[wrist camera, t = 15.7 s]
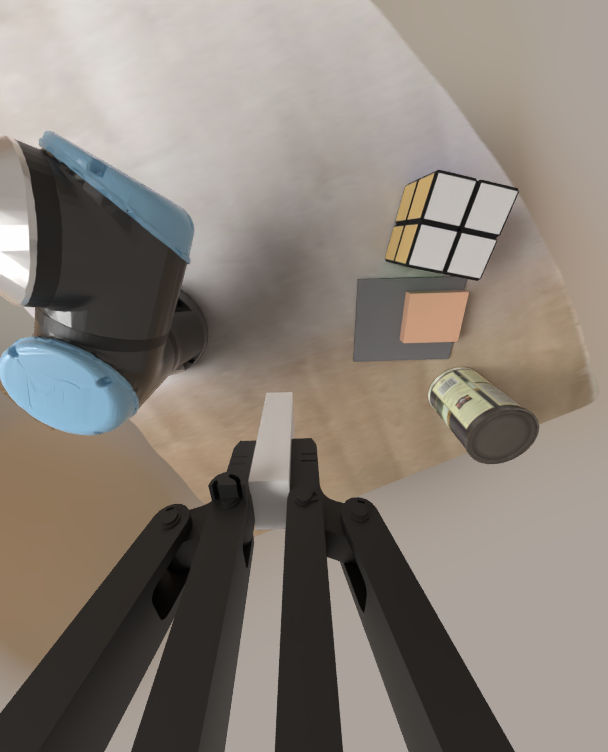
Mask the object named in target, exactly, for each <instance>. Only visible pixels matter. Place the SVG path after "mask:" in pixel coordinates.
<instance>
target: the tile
mask: <svg viewBox="0 0 608 752" xmlns="http://www.w3.org/2000/svg"><path fill="white" fill-rule="evenodd" d="M468 295H469V292H467V291H464V290H439V291H406V295H405V302H404V310H403V317H402V325H401V332H400V340H401V341H402V342H403V343H430V342H458V338H459V334H460V329H461V325H462V321H463V316H464V312H465V308H466V303H467V299H468Z"/></svg>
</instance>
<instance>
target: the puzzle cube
mask: <svg viewBox="0 0 608 752" xmlns="http://www.w3.org/2000/svg"><path fill="white" fill-rule="evenodd" d="M518 193H519V191H518V189H517V188H514V187H510V186H506V185H501V184H497V183H493V182H489V181H484V180H479V181H477V180H476V178H472V177H467V176H463V175H459V174H455V173H450V172H446V171H442V170H437V171H435V172H433V173H431V174H428V175H426V176H424V177H422V178H420V179H418V180H416V181H414V182H412V183H410V184H408V185H406V186H405V189H404V193H403V196H402V200H401V203H400V207H399V210H398V214H397V217H396V221H395V222H396V224H397V225H396V226H394V228H393V232H392V235H391V239H390V242H389V246H388V249H387V253H386V256H385V260H386V261H387V262H391V263H395V264H399V265H402V266H406V267H410V268H415V269H420V270H425V271H430V272H435V273H441V274H445V275H450V276H455V277H461V278H466V279H471V280H476V281H478V280H479V279H481V277H482V275H483V272H484V270H485V268H486V266H487V263H488V261H489V259H490V256H491V254H492V252H493V250H494V247H495V245H496V243H497V239H496V237H498V236H499V235H500V234H501V232H502V229H503V227H504V225H505V223H506V220H507V218H508V216H509V213H510V211H511V209H512V207H513V204H514V202H515V200H516V197H517V195H518Z"/></svg>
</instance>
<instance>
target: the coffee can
mask: <svg viewBox="0 0 608 752" xmlns="http://www.w3.org/2000/svg"><path fill="white" fill-rule="evenodd" d="M428 400H429V403H430V405H431V406H432V407H433V408H434V409H435V411H436V412H437V413H438V414H439V416H440V417H441V418H442V419H443V421H444V422H445V423H446V424H447V426H448V427H449V428H450V429H451V431H452V432H453V433H454V434H455V436H456V437H457V438H458V440H459V441H460V442H461V443H462V444H463V446H464V447H465V448H466V450H467V452H468V454H469V455H470V456H471V457H472V458H473V459H474V460H476V461H478V462H481V463H485V464H498V463H503V462H507V461H509V460H512V459H514V458H516V457H518V456H519V455H521V454H523V453H524V452H525V451H526V450H527V449H528V448H529V447H530V446H531V445H532V444H533V443H534V441H535V439H536V437H537V435H538V431H539V423H538V420H537V418H536V417H535V415H534V414H533V413H531V412H530V411H528V410H527V409H525V408H523V407H522V406H520V405H519V404H518V403H516V402H515V401H514V400H512V399H511V398H510V397H508V396H507V395H506V394H504V393H503V392H502V391H500V390H499V389H498V388H496V387H495V386H494V385H492V384H491V383H490V382H488V381H487V380H486V379H484V378H483V377H482V376H480V375H479V374H478V373H477V372H476V371H474V370H473V369H470V368H467V367H457V368H452V369H449V370H447V371H445V372H443V373H442V374H441V375H439V376H438V377H437V378H436V379H435V380H434V381H433V383H432V384H431V386H430V389H429V392H428Z"/></svg>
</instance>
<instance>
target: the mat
mask: <svg viewBox="0 0 608 752" xmlns="http://www.w3.org/2000/svg"><path fill="white" fill-rule="evenodd" d="M465 282H466V278H461V277H455V276H451V277H417V278H382V279H358V287H357V305H356V322H355V340H354V357H353V361H354V362H359V361H392V360H425V359H449V355H450V350H451V346H452V342H430V343H403V342H402V341H401V340H400V332H401V325H402V317H403V310H404V302H405V295H406V291H439V290H464V287H465Z"/></svg>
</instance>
